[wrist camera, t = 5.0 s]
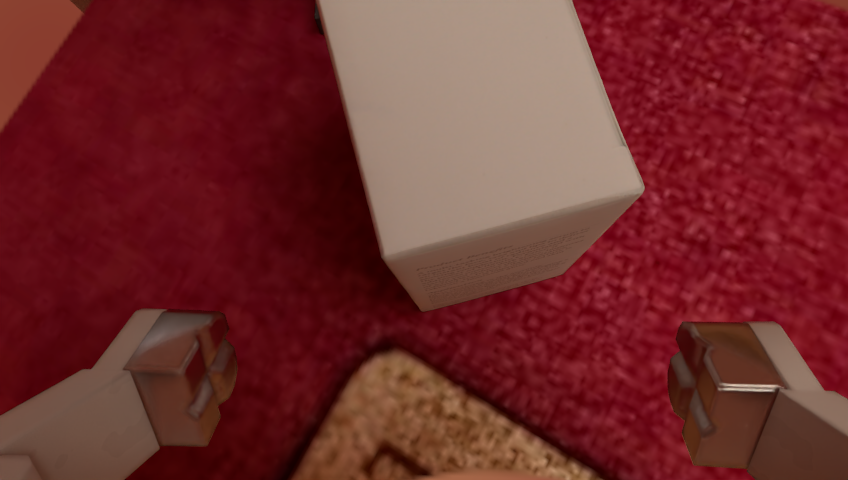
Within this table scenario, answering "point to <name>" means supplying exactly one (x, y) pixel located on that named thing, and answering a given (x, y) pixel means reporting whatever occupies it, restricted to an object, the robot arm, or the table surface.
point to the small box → (477, 139)
